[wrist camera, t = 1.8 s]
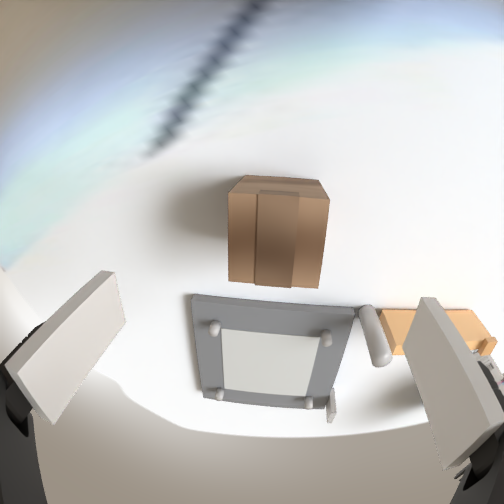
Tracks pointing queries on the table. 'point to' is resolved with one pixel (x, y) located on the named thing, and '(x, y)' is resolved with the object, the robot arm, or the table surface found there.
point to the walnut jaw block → (276, 231)
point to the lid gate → (464, 320)
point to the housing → (277, 350)
